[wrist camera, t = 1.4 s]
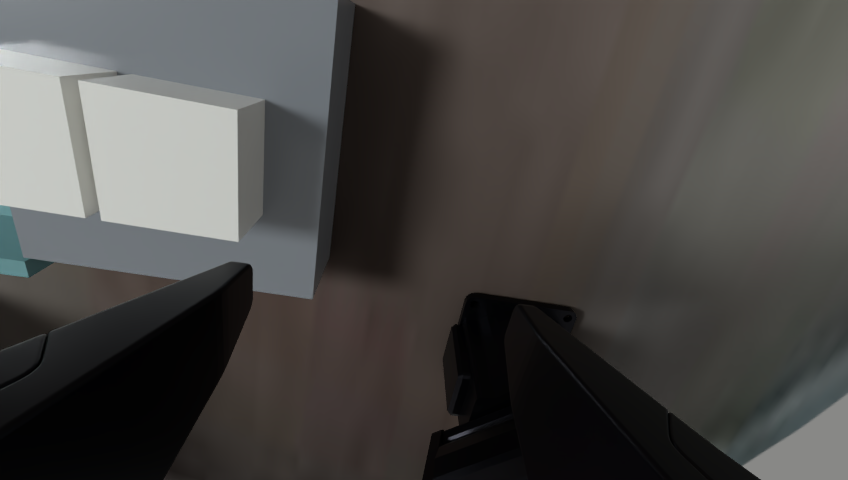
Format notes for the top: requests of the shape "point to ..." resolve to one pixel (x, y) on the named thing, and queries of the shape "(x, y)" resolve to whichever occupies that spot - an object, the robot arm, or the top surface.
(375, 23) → the top surface
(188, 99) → the tile
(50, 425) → the robot arm
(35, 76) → the tile
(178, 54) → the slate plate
